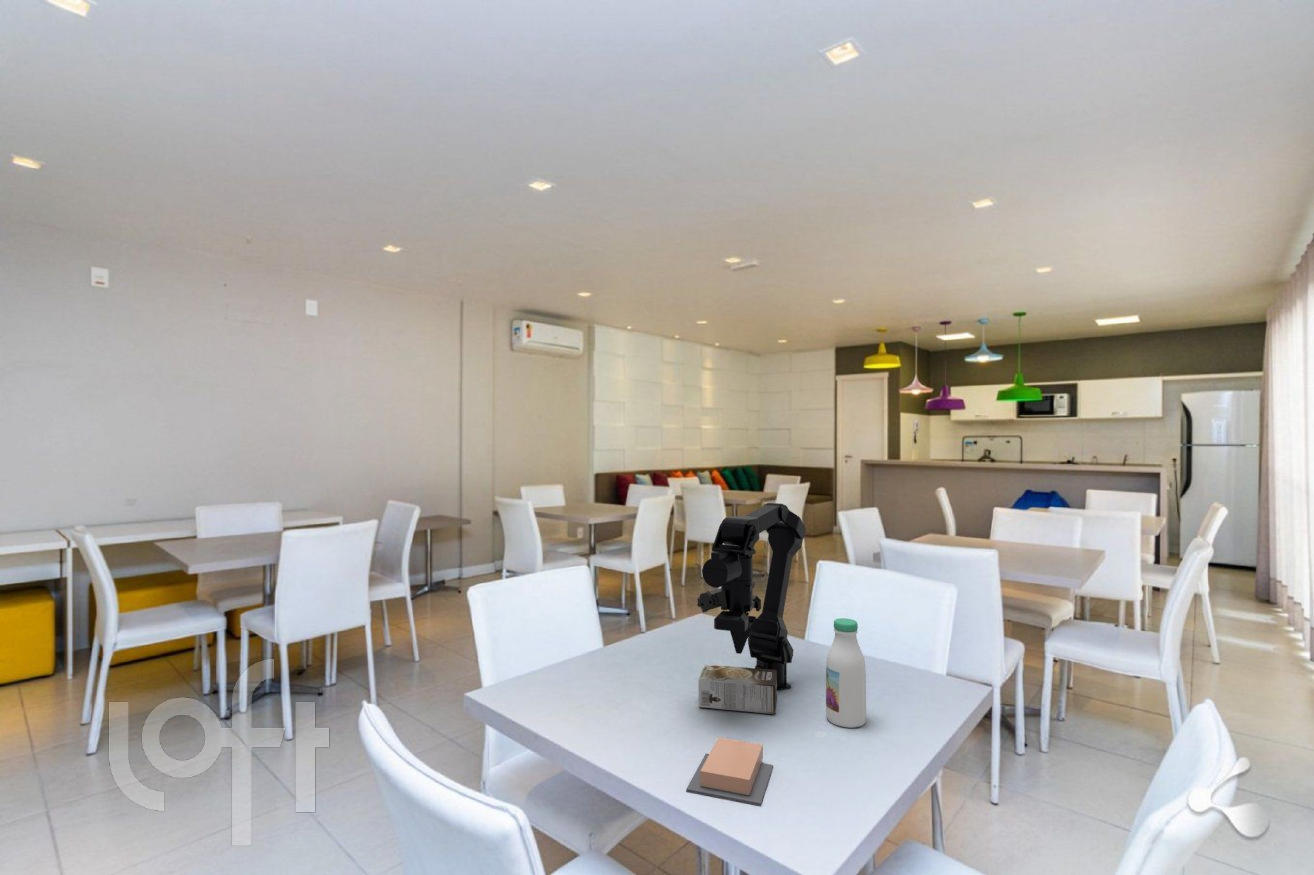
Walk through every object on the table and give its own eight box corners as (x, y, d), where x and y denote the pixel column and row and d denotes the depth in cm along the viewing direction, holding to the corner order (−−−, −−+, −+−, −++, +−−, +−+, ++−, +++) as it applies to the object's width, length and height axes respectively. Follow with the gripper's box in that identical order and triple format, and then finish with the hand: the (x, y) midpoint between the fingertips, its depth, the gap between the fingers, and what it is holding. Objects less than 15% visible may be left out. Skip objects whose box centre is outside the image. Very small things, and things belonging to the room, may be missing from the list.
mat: (705, 755, 111) (705, 753, 111) (773, 767, 107) (773, 764, 107) (686, 791, 100) (686, 788, 100) (760, 805, 96) (760, 803, 96)
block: (718, 737, 112) (700, 770, 100) (762, 744, 109) (749, 779, 98) (718, 751, 112) (700, 786, 100) (762, 759, 109) (749, 796, 98)
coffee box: (704, 662, 140) (777, 668, 136) (704, 691, 140) (777, 697, 136) (698, 678, 131) (776, 684, 127) (698, 708, 131) (776, 715, 127)
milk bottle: (866, 714, 128) (865, 617, 128) (866, 731, 120) (865, 628, 120) (827, 709, 130) (827, 613, 130) (824, 725, 123) (824, 624, 123)
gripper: (712, 567, 141) (712, 635, 141) (688, 585, 124) (689, 663, 124) (761, 570, 138) (761, 641, 137) (744, 589, 120) (744, 670, 120)
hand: (738, 653), depth 130 cm, fingers closed
